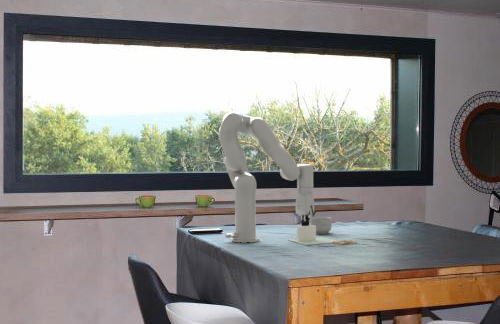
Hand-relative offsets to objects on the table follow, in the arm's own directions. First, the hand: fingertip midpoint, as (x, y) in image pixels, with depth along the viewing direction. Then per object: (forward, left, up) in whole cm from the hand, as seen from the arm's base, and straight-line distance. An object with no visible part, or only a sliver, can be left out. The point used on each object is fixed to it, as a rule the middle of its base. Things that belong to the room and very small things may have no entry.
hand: (305, 229), depth 315 cm
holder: (+9, -19, -5) cm, 22 cm away
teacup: (+19, +15, -5) cm, 24 cm away
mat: (0, -7, -5) cm, 9 cm away
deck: (-2, -5, -4) cm, 7 cm away
